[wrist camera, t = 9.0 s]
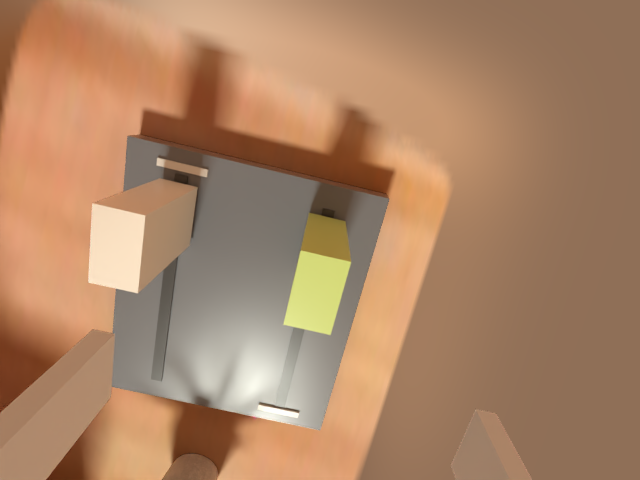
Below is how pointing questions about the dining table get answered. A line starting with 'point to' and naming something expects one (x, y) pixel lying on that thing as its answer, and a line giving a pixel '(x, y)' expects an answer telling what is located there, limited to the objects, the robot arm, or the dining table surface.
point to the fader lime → (319, 275)
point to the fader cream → (140, 233)
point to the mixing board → (239, 288)
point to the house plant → (192, 468)
